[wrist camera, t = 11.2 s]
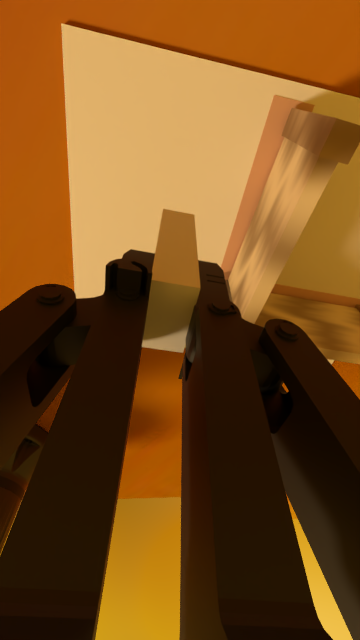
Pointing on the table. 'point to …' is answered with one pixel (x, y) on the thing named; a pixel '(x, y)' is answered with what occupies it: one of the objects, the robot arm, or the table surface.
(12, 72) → the table surface
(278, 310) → the fence fixed
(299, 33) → the table surface
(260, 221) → the fence flap
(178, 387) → the table surface
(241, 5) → the table surface
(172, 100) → the card
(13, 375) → the robot arm
